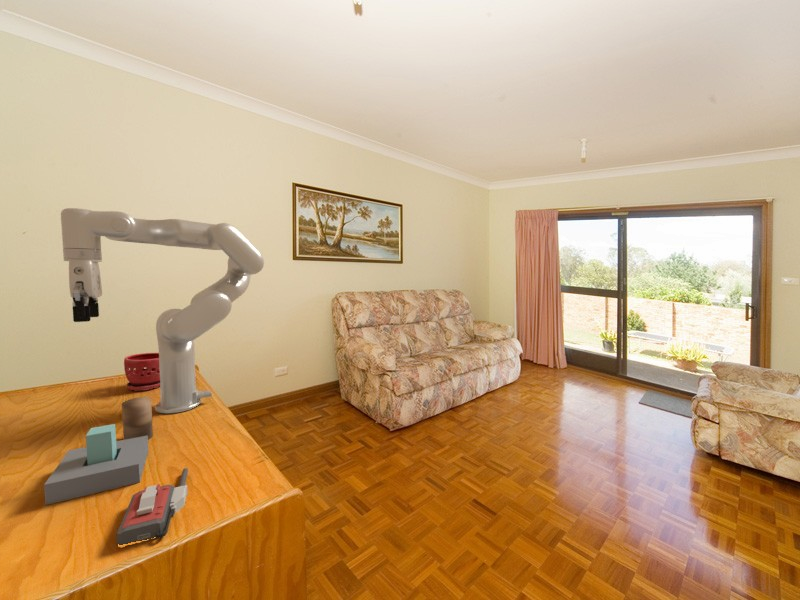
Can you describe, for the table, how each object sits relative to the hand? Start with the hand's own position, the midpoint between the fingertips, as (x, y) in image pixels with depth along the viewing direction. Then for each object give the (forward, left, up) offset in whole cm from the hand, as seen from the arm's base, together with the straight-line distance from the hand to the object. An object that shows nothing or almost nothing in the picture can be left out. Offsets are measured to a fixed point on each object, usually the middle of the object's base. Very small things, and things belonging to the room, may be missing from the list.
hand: (87, 319), depth 92 cm
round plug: (-12, +15, -30) cm, 36 cm away
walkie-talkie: (-19, +48, -31) cm, 60 cm away
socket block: (-8, +31, -30) cm, 44 cm away
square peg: (-8, +31, -30) cm, 44 cm away
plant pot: (-9, -32, -31) cm, 45 cm away
